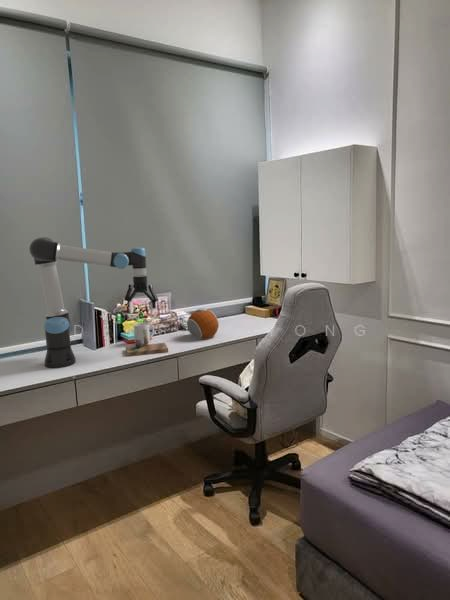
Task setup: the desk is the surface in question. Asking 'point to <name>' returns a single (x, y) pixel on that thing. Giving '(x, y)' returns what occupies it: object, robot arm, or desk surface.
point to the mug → (139, 331)
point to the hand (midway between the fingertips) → (142, 313)
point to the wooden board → (147, 349)
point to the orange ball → (202, 324)
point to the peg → (139, 342)
